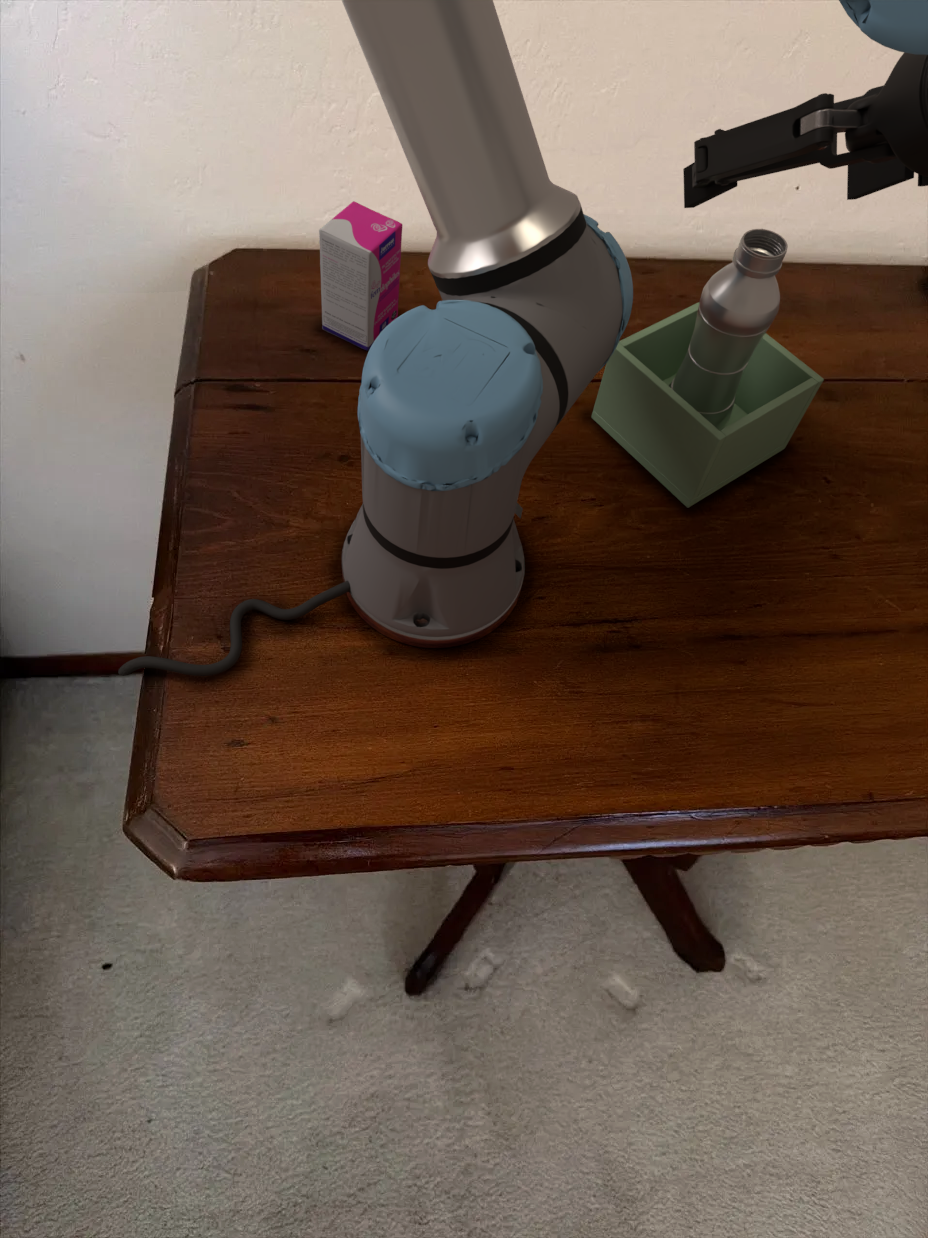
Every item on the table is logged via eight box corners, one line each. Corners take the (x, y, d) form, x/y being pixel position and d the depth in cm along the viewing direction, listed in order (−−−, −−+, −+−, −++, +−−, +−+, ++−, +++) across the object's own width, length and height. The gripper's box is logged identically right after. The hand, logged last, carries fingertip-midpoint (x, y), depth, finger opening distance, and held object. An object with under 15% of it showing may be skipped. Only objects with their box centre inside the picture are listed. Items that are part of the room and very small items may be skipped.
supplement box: (369, 353, 88) (369, 252, 79) (320, 329, 90) (314, 227, 80) (400, 321, 91) (403, 220, 81) (353, 299, 92) (350, 197, 83)
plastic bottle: (736, 435, 85) (824, 253, 68) (683, 461, 83) (762, 279, 66) (692, 393, 88) (767, 208, 71) (640, 417, 85) (705, 231, 68)
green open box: (687, 508, 81) (719, 439, 73) (590, 417, 86) (611, 344, 78) (784, 448, 86) (824, 378, 78) (687, 366, 91) (716, 293, 84)
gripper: (774, 170, 45) (618, 246, 65) (1176, 153, 50) (914, 228, 70) (774, 4, 43) (614, 135, 64) (1191, 2, 48) (918, 124, 68)
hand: (771, 184), depth 67 cm, fingers open, 13 cm apart
